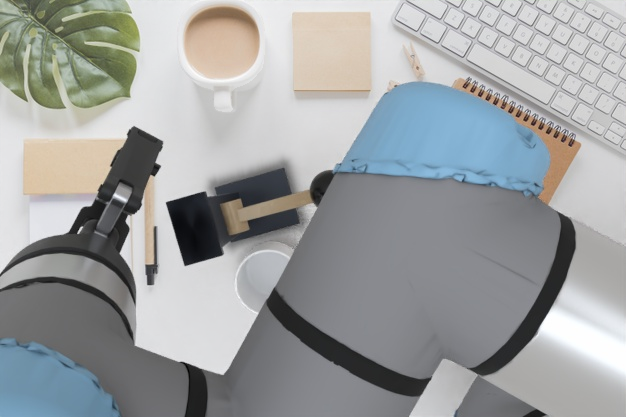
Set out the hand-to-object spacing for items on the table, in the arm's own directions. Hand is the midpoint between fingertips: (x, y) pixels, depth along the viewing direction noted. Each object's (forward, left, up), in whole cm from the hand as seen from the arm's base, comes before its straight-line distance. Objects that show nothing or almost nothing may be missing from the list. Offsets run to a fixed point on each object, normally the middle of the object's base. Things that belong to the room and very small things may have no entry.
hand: (94, 227), depth 49 cm
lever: (-3, -18, -1) cm, 18 cm away
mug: (-13, -13, -28) cm, 34 cm away
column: (-3, -9, -27) cm, 28 cm away
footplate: (-3, -12, -28) cm, 30 cm away
